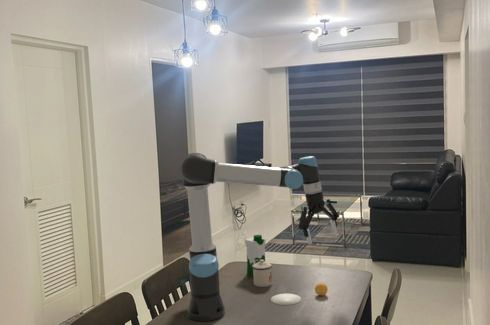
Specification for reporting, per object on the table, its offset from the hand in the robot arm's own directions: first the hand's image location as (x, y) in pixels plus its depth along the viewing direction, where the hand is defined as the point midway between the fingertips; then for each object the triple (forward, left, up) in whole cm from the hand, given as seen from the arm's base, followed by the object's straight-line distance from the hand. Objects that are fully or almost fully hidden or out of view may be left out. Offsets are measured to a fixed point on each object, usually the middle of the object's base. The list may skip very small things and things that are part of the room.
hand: (322, 239), depth 220 cm
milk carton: (-23, +36, -25) cm, 49 cm away
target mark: (-18, -2, -24) cm, 30 cm away
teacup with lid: (-23, +22, -25) cm, 40 cm away
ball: (-2, -2, -22) cm, 22 cm away
